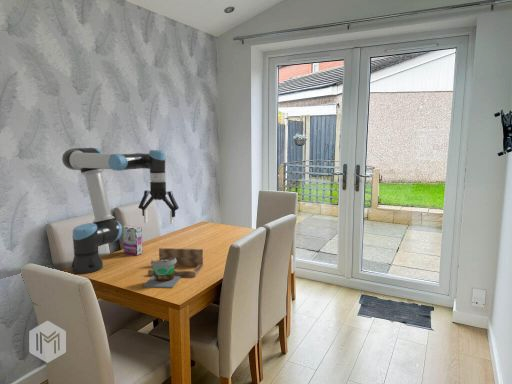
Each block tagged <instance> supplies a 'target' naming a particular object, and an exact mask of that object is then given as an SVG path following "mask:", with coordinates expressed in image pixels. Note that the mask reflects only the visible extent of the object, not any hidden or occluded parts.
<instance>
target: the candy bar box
mask: <svg viewBox="0 0 512 384" xmlns="http://www.w3.org/2000/svg"><path fill="white" fill-rule="evenodd" d="M142 230H143V228H142V227H141V226H134V225H125V226H122V234H123V236H122V237H123V252H124V254H127V255H133V256H139V255H142V254H143V253H144V252H143V251H144V250H143V249H144V248H143V233H142V232H143V231H142Z"/></svg>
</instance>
